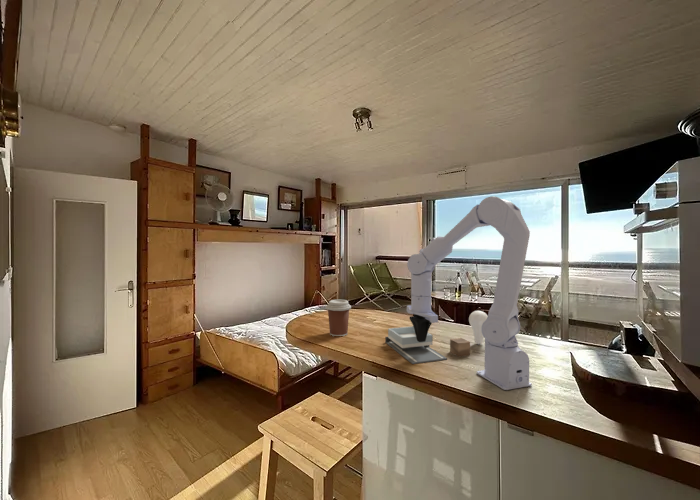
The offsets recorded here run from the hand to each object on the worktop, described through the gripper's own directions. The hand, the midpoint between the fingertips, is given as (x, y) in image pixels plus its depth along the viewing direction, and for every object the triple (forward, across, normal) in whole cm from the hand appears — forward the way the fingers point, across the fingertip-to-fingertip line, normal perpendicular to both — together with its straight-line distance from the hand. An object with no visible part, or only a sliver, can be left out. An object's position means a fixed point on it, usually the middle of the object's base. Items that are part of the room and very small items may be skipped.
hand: (421, 341), depth 89 cm
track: (+4, -4, 0) cm, 6 cm away
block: (+4, +2, +12) cm, 13 cm away
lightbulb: (+4, -3, +23) cm, 24 cm away
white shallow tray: (+4, -7, 0) cm, 8 cm away
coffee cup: (+4, -27, -18) cm, 33 cm away
